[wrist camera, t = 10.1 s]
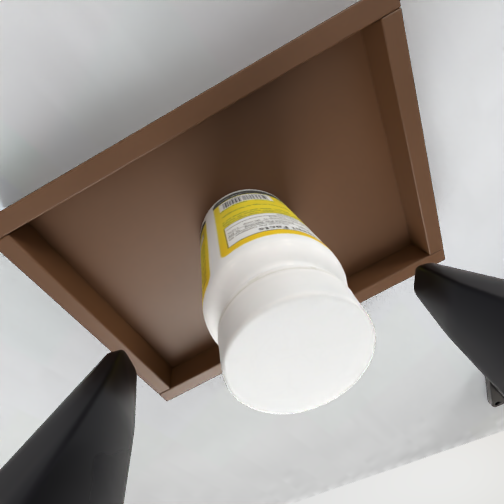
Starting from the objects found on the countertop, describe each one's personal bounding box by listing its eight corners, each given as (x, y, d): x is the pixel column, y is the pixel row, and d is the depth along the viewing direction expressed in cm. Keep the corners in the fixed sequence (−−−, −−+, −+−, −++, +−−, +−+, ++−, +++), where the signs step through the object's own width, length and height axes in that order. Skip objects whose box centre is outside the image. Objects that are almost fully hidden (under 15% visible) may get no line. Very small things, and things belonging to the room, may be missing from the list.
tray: (419, 243, 17) (445, 259, 16) (169, 372, 18) (166, 402, 17) (364, -1, 12) (396, -21, 10) (4, 210, 13) (-28, 227, 11)
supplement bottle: (254, 288, 16) (303, 443, 9) (180, 245, 14) (163, 395, 7) (311, 222, 15) (426, 335, 7) (239, 165, 13) (297, 239, 6)
